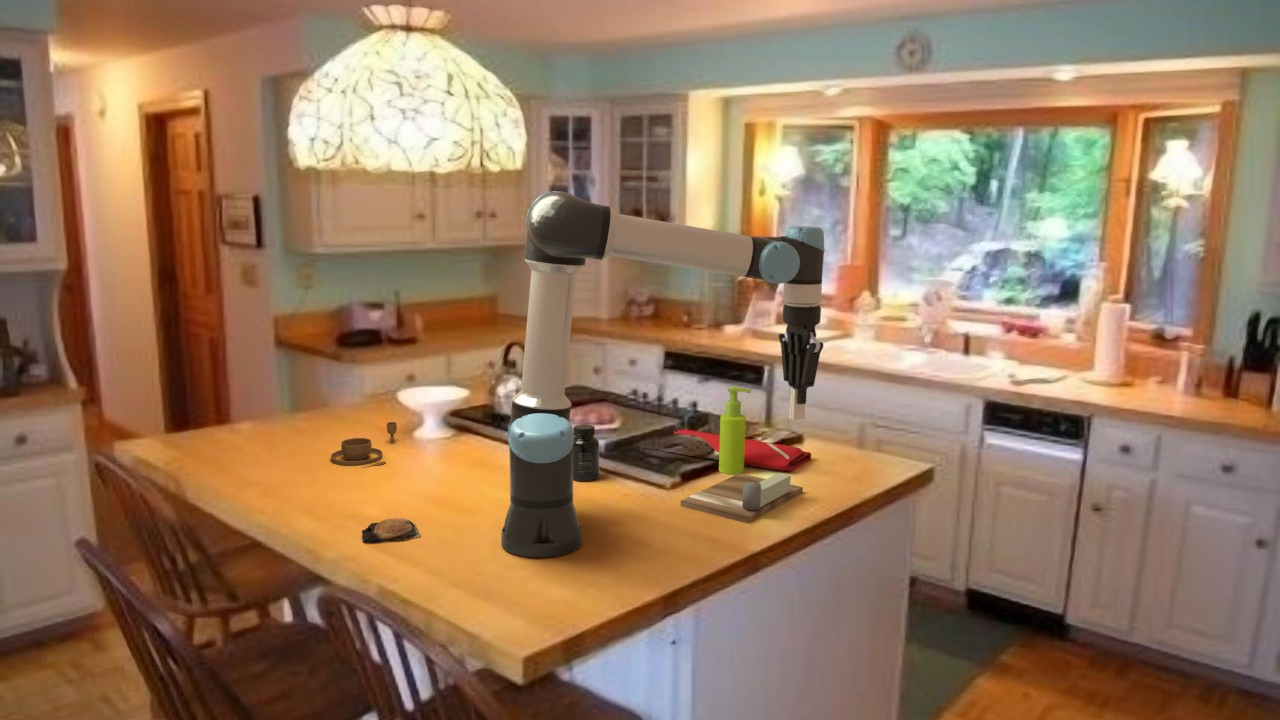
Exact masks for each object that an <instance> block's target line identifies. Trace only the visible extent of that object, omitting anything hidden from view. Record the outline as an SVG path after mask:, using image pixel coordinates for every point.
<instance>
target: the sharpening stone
mask: <svg viewBox="0 0 1280 720" xmlns="http://www.w3.org/2000/svg"><path fill="white" fill-rule="evenodd" d="M764 479H765V480H763V481H761V482H759V483H757V482H746V483H744V484H743V505H742V507H743V508H744V509H747V510H758V509H760V507H762V506H764V505H765V504H767V503H769V502H771V501H773V500H775V499H777V498H778V497H780V496H782V495H784V494H786V493H788V492H789V491H790V484H791V475H789V474H785V473H780V472H777V473H776V474H774V475H771V476H769V477H767V478H764Z"/></svg>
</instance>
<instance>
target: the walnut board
mask: <svg viewBox="0 0 1280 720" xmlns="http://www.w3.org/2000/svg"><path fill="white" fill-rule="evenodd" d="M765 479H766V478H763V477H758V476H755V475H749V474H745V473H739V474H734V475H733V476H730V477H729V478H727V479H726V478H725V479H724V480H722V481H720V482H718V483H715V484H713V485H711V486H709V487H707V488H705V489H702V490H700V491H697V492H695V493H693V494H691V495H689V496H688V497H685V498H683V499H681V500H680V507H684V508H687V509H691V510H696V511H699V512H703V513H707V514H709V515H715V516H718V517H723V518H725V519H730V520H733V521H737V522H742V523H746V524H748V523H750V522H752V521H754V520H756V519H757V518H759V517H761V516H763V515H764V514H766V513H768V512H769V511H772V510H773V509H775V508H777V507H779V506H781V505H782V504H784V503H786V502H788V501H790V500H791V499H794V498H795V497H797V496H799V495H800V494H803V488H804V487H803V486H801V485H800V486H798V485H794V484H791V483H790V491H789V492H788V493H786V494H784V495H782V496H780V497H778V498H777V499H775V500H773V501H771V502H769V503H767V504H765V505H764V506H762V507H760V509H758V510H747V509H744V508H743V507H742V505H743V484H744V483H746V482H757V483H759V482H761V481H763V480H765Z"/></svg>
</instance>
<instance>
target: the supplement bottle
mask: <svg viewBox="0 0 1280 720" xmlns="http://www.w3.org/2000/svg"><path fill="white" fill-rule="evenodd" d="M595 427H596V426H594V425H592V424H585V423H584V424H577V425H574V426H573V434H574V444H573V481H576V482H592V481H595V480H597V479H598V478H599V477H600V441H599V439H598V438H597V437H596V436H595V435H596V432H595Z"/></svg>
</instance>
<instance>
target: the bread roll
mask: <svg viewBox="0 0 1280 720" xmlns="http://www.w3.org/2000/svg"><path fill="white" fill-rule="evenodd" d="M361 538H362V542H363V543H364V544H367V545H377V544H386V543H387V544H388V543H394V542H401V541H407V540H408V541H410V540H414V539H420V538H422V535H421V533H420V530H419V529H418V527H417V524H415V523H414V522H413V521H411V520H409V519H406V518H401V517H400V518H399V517H398V518H397V517H396V518H387V519H383V520H381V521H379V522H372V523H370V524H369V525H368V526H367V527H366V528H365V529H362V530H361Z"/></svg>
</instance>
